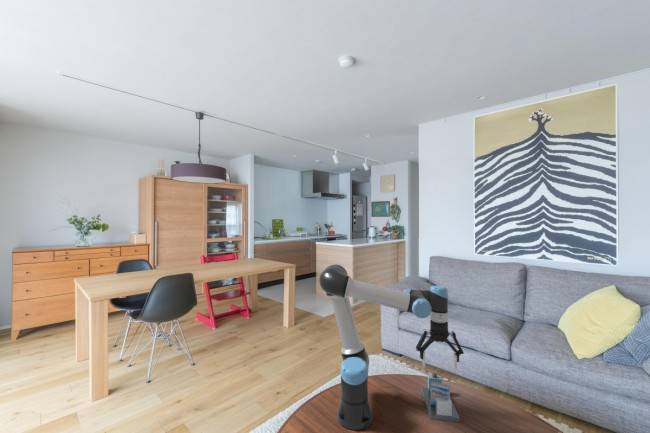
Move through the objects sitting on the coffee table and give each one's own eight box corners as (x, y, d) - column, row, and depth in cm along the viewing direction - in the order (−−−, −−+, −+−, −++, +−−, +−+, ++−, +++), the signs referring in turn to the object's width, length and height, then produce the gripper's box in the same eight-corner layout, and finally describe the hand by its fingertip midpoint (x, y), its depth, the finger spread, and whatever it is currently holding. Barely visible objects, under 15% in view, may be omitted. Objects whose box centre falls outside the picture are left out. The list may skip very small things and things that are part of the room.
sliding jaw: (429, 390, 141) (428, 374, 142) (427, 387, 144) (427, 371, 145) (441, 391, 140) (441, 375, 141) (440, 388, 143) (440, 372, 144)
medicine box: (430, 404, 131) (430, 385, 131) (431, 399, 135) (431, 380, 135) (449, 409, 127) (449, 389, 127) (450, 404, 131) (449, 384, 131)
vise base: (430, 418, 124) (429, 401, 124) (421, 390, 144) (421, 375, 145) (459, 421, 122) (459, 403, 122) (447, 392, 142) (446, 377, 143)
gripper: (411, 321, 130) (412, 369, 130) (471, 325, 126) (471, 374, 126) (409, 316, 138) (409, 361, 137) (465, 319, 134) (465, 365, 133)
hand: (439, 367), depth 131 cm, fingers open, 13 cm apart
